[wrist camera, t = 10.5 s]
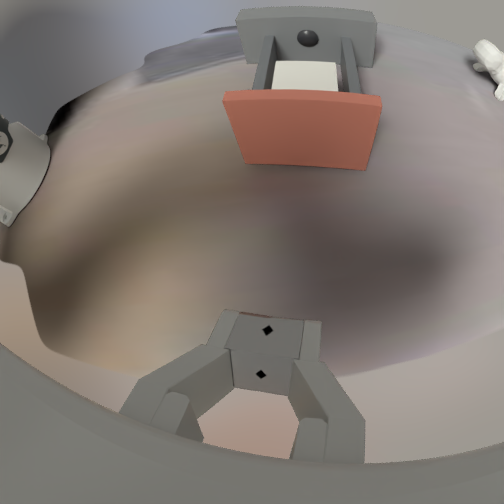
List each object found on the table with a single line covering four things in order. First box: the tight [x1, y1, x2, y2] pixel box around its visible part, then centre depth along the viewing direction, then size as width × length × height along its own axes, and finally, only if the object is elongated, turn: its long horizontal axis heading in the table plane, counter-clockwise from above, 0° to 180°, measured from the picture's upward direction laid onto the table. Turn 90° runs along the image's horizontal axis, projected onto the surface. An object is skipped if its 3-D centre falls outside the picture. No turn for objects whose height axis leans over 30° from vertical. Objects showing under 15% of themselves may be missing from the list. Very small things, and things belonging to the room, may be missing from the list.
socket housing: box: [235, 6, 377, 94], centre depth 28 cm, size 18×18×8 cm
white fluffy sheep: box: [473, 39, 504, 101], centre depth 24 cm, size 8×8×15 cm
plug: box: [222, 61, 382, 171], centre depth 25 cm, size 12×12×10 cm
